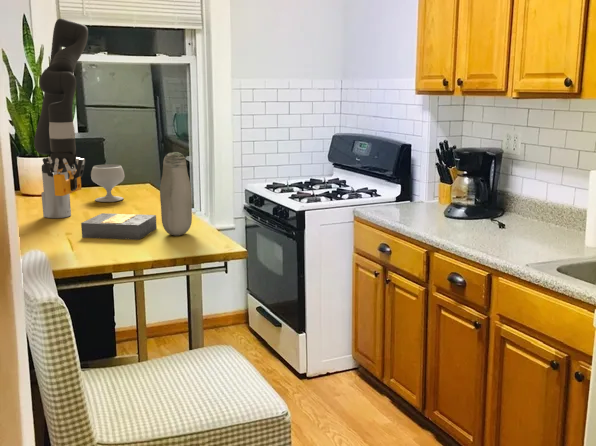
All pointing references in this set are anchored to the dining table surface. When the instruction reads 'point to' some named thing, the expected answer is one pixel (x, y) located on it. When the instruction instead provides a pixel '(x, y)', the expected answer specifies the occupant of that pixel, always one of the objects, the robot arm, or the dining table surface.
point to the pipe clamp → (64, 185)
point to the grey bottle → (175, 195)
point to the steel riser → (119, 226)
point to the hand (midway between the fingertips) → (66, 189)
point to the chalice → (108, 179)
